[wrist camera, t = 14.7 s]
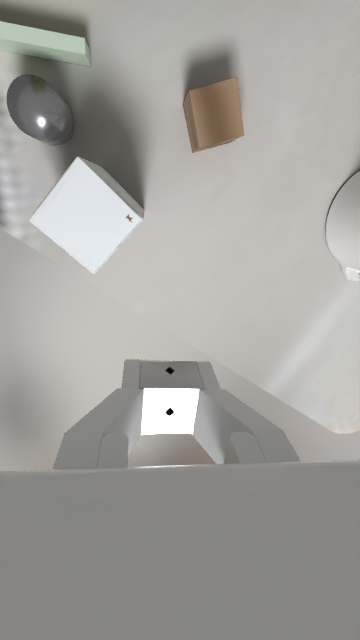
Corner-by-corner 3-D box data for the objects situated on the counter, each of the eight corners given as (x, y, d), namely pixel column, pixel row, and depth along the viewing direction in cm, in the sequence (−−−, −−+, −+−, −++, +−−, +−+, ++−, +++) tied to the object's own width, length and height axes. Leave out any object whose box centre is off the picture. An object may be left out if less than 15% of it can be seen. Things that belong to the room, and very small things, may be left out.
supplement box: (100, 164, 33) (78, 151, 22) (145, 210, 36) (146, 220, 25) (63, 210, 35) (24, 219, 24) (109, 251, 38) (94, 277, 27)
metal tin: (72, 96, 30) (60, 79, 26) (74, 148, 32) (63, 141, 28) (24, 88, 30) (2, 70, 25) (29, 142, 32) (11, 134, 27)
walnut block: (224, 92, 32) (237, 76, 27) (230, 142, 34) (244, 135, 30) (182, 104, 32) (189, 90, 27) (192, 153, 34) (199, 147, 30)
